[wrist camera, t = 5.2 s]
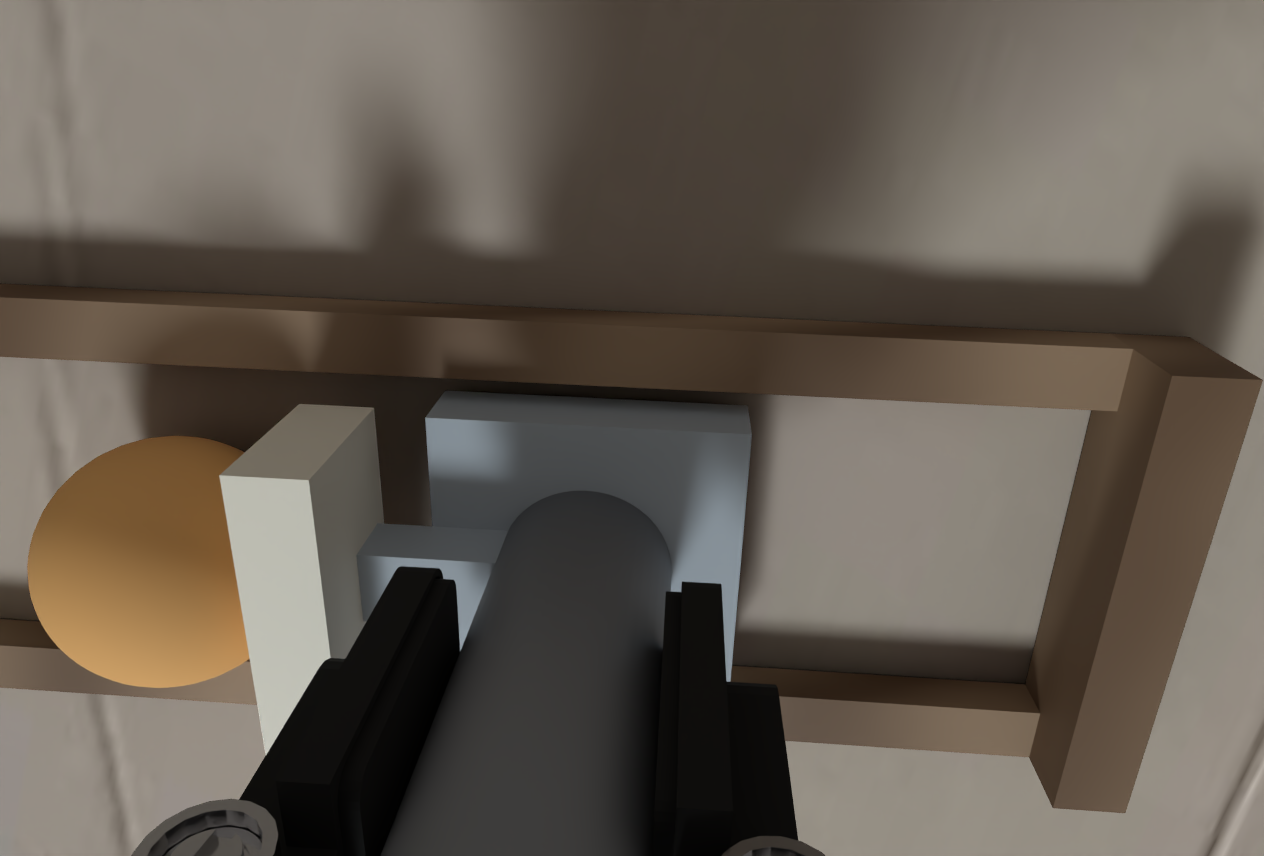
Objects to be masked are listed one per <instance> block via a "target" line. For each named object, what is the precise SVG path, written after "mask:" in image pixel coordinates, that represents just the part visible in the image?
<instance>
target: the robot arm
mask: <svg viewBox="0 0 1264 856" xmlns="http://www.w3.org/2000/svg"><path fill="white" fill-rule="evenodd" d="M459 654H460V639H459V623H458V606H457V590H456V583H455V581H454V580H452V579H443V574H442V571H441V570H440V569H439V568H424V567H406V566H400V567H398V568H397V570H396V571H395V573H394V574H393V576H392V578H391V580H390V581H389V583H388V585H387V587H386V588H385V590H384V592H383V594H382V595H381V597H380V599H379V601H378V602H377V604H376V606H375V608H374V609H373V611H372V613H371V615H370V616H369V618H368V620H367V622H366V623H365V625H364V627H363V629H362V630H361V632H360V634H359V636H358V637H357V639H356V641H355V643H354V644H353V646H352V648H351V650H350V651H349V653H348V655H347V657H346V658H345V659H340V658H329V659H327V660H325V661H324V662H323V663H322V665H321V666H320V667H319V669H318V670H317V672H316V674H315V675H314V677H313V678H312V680H311V682H310V683H309V685H308V687H307V688H306V690H305V692H304V693H303V695H302V697H301V698H300V700H299V702H298V703H297V705H296V707H295V708H294V710H293V712H292V713H291V715H290V716H289V718H288V720H287V721H286V723H285V725H284V726H283V728H282V730H281V731H280V733H279V735H278V736H277V738H276V740H275V741H274V743H273V745H272V746H271V748H270V750H269V751H268V753H267V755H266V756H265V758H264V759H263V761H262V763H261V764H260V766H259V768H258V769H257V771H256V773H255V774H254V776H253V778H252V779H251V781H250V783H249V784H248V786H247V788H246V789H245V791H244V793H243V794H242V796H241V797H240V799H239V800H236V799H225V800H216V801H209V802H206V803H202V804H199V805H196V806H193V807H190V808H187V809H185V810H183V811H181V812H179V813H178V814H176V815H174V816H172V817H170V818H168V819H166V820H165V821H164V822H162V823H161V824H160V825H159V826H157V827H156V828H155V829H154V830H153V831H151V832H150V833H149V834H148V835H147V836H146V837H145V838H144V839H143V841H142V842H141V843H140V844H139V846H138V847H137V848H136V850H135V851H134V852H133V854H132V855H131V856H380V855H381V853H382V850H383V848H384V845H385V843H386V840H387V838H388V835H389V832H390V830H391V827H392V825H393V822H394V820H395V817H396V815H397V812H398V809H399V807H400V804H401V802H402V799H403V797H404V794H405V792H406V789H407V786H408V784H409V781H410V779H411V776H412V774H413V771H414V769H415V766H416V763H417V761H418V758H419V756H420V753H421V751H422V748H423V746H424V743H425V741H426V738H427V735H428V733H429V730H430V728H431V725H432V723H433V720H434V718H435V715H436V712H437V710H438V707H439V705H440V702H441V700H442V697H443V695H444V692H445V689H446V687H447V684H448V682H449V679H450V677H451V674H452V672H453V669H454V666H455V664H456V661H457V659H458V656H459ZM652 856H825V855H824V854H823V853H822V852H821V851H819V850H817V849H815V848H813V847H811V846H809V845H807V844H805V843H804V842H801V841H798V836H797V828H796V820H795V813H794V805H793V797H792V790H791V782H790V775H789V767H788V759H787V752H786V744H785V736H784V729H783V721H782V714H781V706H780V698H779V692H778V687H777V686H776V685H775V684H759V683H742V682H727V681H726V662H725V642H724V622H723V602H722V585H721V584H718V583H700V582H682V586H681V592H671V591H666V597H665V616H664V635H663V654H662V673H661V691H660V710H659V729H658V748H657V767H656V786H655V806H654V827H653V849H652Z"/></svg>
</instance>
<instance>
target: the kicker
mask: <svg viewBox="0 0 1264 856" xmlns="http://www.w3.org/2000/svg"><path fill="white" fill-rule="evenodd" d="M425 422H426V437H427V453H428V468H429V483H430V498H431V514H432V526H417V525H399V524H384V514H383V503H382V492H381V480H380V469H379V458H378V447H377V436H376V424H375V413H374V408H371V407H351V406H331V405H312V404H299V405H297V406H296V407H295V408H294V409H293V410H292V411H291V412H290V413H288V414H287V415H286V416H285V417H284V418H283V419H282V420H281V421H280V422H278V423H277V424H276V425H275V426H274V427H273V428H272V429H271V430H269V431H268V432H267V433H266V434H265V435H264V436H263V437H262V438H260V439H259V440H258V441H257V442H256V443H255V444H254V445H253V446H252V447H250V448H249V449H248V450H247V451H246V452H245V453H244V454H243V455H241V456H240V457H239V458H238V459H237V460H236V461H235V462H234V463H232V464H231V465H230V466H229V467H228V468H227V469H226V470H225V471H224V472H222V473H221V474H220V475H219V477H220V483H221V489H222V495H223V501H224V507H225V513H226V519H227V525H228V531H229V537H230V543H231V549H232V555H233V561H234V567H235V573H236V580H237V586H238V592H239V598H240V604H241V610H242V616H243V622H244V628H245V634H246V640H247V646H248V652H249V658H250V664H251V670H252V676H253V682H254V688H255V694H256V700H257V706H258V712H259V718H260V724H261V730H262V736H263V742H264V748H265V754H266V755H267V753H268V751H269V750H270V748H271V746H272V745H273V743H274V741H275V740H276V738H277V736H278V735H279V733H280V731H281V730H282V728H283V726H284V725H285V723H286V721H287V720H288V718H289V716H290V715H291V713H292V712H293V710H294V708H295V707H296V705H297V703H298V702H299V700H300V698H301V697H302V695H303V693H304V692H305V690H306V688H307V687H308V685H309V683H310V682H311V680H312V678H313V677H314V675H315V674H316V672H317V670H318V669H319V667H320V666H321V665H322V663H323V662H324V661H325V660H327V659H329V658H340V659H345V658H346V657H347V655H348V653H349V651H350V650H351V648H352V646H353V644H354V643H355V641H356V639H357V637H358V636H359V634H360V632H361V630H362V629H363V627H364V625H365V623H366V622H367V620H368V618H369V616H370V615H371V613H372V611H373V609H374V608H375V606H376V604H377V602H378V601H379V599H380V597H381V595H382V594H383V592H384V590H385V588H386V587H387V585H388V583H389V581H390V580H391V578H392V576H393V574H394V573H395V571H396V570H397V568H398V567H400V566H406V567H424V568H439V569H440V570H441V571H442V574H443V579H452V580H454V581H455V583H456V590H457V606H458V623H459V639H460V654H459V656H458V659H457V661H456V664H455V666H454V669H453V672H452V674H451V677H450V679H449V682H448V684H447V687H446V689H445V692H444V695H443V697H442V700H441V702H440V705H439V707H438V710H437V712H436V715H435V718H434V720H433V723H432V725H431V728H430V730H429V733H428V735H427V738H426V741H425V743H424V746H423V748H422V751H421V753H420V756H419V758H418V761H417V763H416V766H415V769H414V771H413V774H412V776H411V779H410V781H409V784H408V786H407V789H406V792H405V794H404V797H403V799H402V802H401V804H400V807H399V809H398V812H397V815H396V817H395V820H394V822H393V825H392V827H391V830H390V832H389V835H388V838H387V840H386V843H385V845H384V848H383V850H382V853H381V855H380V856H652V849H653V827H654V806H655V786H656V767H657V748H658V729H659V710H660V691H661V673H662V654H663V635H664V616H665V597H666V591H671V592H681V586H682V582H700V583H718V584H721V585H722V602H723V622H724V642H725V662H726V681H727V682H730V681H731V669H732V658H733V646H734V635H735V623H736V612H737V600H738V589H739V577H740V566H741V554H742V543H743V531H744V520H745V508H746V496H747V485H748V473H749V462H750V450H751V439H752V432H751V425H750V418H749V411H748V406H745V405H725V404H705V403H685V402H664V401H644V400H624V399H604V398H584V397H564V396H544V395H524V394H504V393H483V392H463V391H445V392H444V393H443V394H442V396H441V397H440V398H439V400H438V401H437V402H436V404H435V405H434V406H433V408H432V409H431V411H430V412H429V413H428V415H427V416H426V417H425Z"/></svg>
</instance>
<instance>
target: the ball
mask: <svg viewBox="0 0 1264 856" xmlns="http://www.w3.org/2000/svg"><path fill="white" fill-rule="evenodd" d="M244 453H245V452H243V451H241V450H239V449H237V448H234V447H232V446H229V445H227V444H224V443H221V442H218V441H214V440H210V439H206V438H199V437H191V436H165V437H156V438H147V439H143V440H139V441H136V442H132V443H129V444H125V445H122V446H120V447H117V448H115V449H113V450H111V451H109V452H107V453H104V454H102V455H100V456H98V457H97V458H95V459H94V460H92V461H91V462H89V463H88V464H86V465H85V466H84V467H82V468H81V469H79V470H78V471H77V472H75V473H74V474H73V475H72V476H71V477H70V478H69V479H68V480H67V481H66V482H65V483H64V484H63V485H62V486H61V487H60V488H59V489H58V490H57V492H56V493H55V495H54V496H53V497H52V499H51V500H50V502H49V503H48V505H47V506H46V508H45V509H44V511H43V513H42V515H41V517H40V519H39V521H38V524H37V526H36V528H35V531H34V533H33V537H32V541H31V544H30V550H29V556H28V566H27V568H28V583H29V591H30V596H31V600H32V603H33V606H34V609H35V611H36V613H37V616H38V618H39V620H40V622H41V624H42V626H43V627H44V629H45V631H46V632H47V634H48V635H49V637H50V638H51V639H52V641H53V642H54V643H55V644H56V645H57V646H58V647H59V648H60V649H61V650H62V651H63V652H64V653H65V654H66V655H67V656H68V657H69V658H71V659H72V660H73V661H75V662H76V663H77V664H79V665H80V666H82V667H84V668H85V669H87V670H89V671H91V672H93V673H95V674H97V675H99V676H102V677H104V678H107V679H109V680H112V681H115V682H119V683H122V684H126V685H131V686H138V687H151V688H169V687H178V686H185V685H191V684H195V683H199V682H202V681H205V680H208V679H211V678H215V677H218V676H220V675H222V674H224V673H226V672H228V671H230V670H232V669H234V668H236V667H238V666H240V665H241V664H243V663H244V662H245V661H247V660H248V659H250V658H249V652H248V646H247V640H246V634H245V628H244V622H243V616H242V610H241V604H240V598H239V592H238V586H237V580H236V573H235V567H234V561H233V555H232V549H231V543H230V537H229V531H228V525H227V519H226V513H225V507H224V501H223V495H222V489H221V483H220V477H219V475H220V474H221V473H222V472H224V471H225V470H226V469H227V468H228V467H229V466H230V465H231V464H232V463H234V462H235V461H236V460H237V459H238V458H239V457H240V456H241V455H243V454H244Z"/></svg>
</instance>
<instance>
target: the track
mask: <svg viewBox="0 0 1264 856" xmlns="http://www.w3.org/2000/svg"><path fill="white" fill-rule="evenodd" d="M0 357H19V358H39V359H60V360H80V361H101V362H121V363H141V364H162V365H182V366H202V367H223V368H243V369H264V370H284V371H304V372H325V373H345V374H366V375H386V376H406V377H427V378H447V379H467V380H488V381H508V382H529V383H549V384H569V385H590V386H610V387H630V388H651V389H671V390H692V391H712V392H732V393H753V394H773V395H794V396H814V397H834V398H855V399H875V400H895V401H916V402H936V403H957V404H977V405H997V406H1018V407H1038V408H1059V409H1079V410H1092V412H1091V416H1090V420H1089V424H1088V428H1087V432H1086V436H1085V440H1084V445H1083V449H1082V453H1081V457H1080V461H1079V465H1078V469H1077V473H1076V477H1075V482H1074V486H1073V490H1072V494H1071V498H1070V502H1069V506H1068V510H1067V515H1066V519H1065V523H1064V527H1063V531H1062V535H1061V539H1060V543H1059V547H1058V552H1057V556H1056V560H1055V564H1054V568H1053V572H1052V576H1051V580H1050V584H1049V589H1048V593H1047V597H1046V601H1045V605H1044V609H1043V613H1042V617H1041V621H1040V626H1039V630H1038V634H1037V638H1036V642H1035V646H1034V650H1033V654H1032V659H1031V663H1030V667H1029V671H1028V675H1027V679H1026V683H1025V684H1011V683H995V682H980V681H964V680H948V679H933V678H917V677H901V676H886V675H870V674H854V673H839V672H823V671H807V670H792V669H776V668H760V667H745V666H732V669H731V681H730V682H742V683H759V684H775V685H776V686H777V687H778V692H779V698H780V706H781V714H782V721H783V729H784V736H785V741H797V742H812V743H827V744H842V745H856V746H871V747H886V748H901V749H915V750H930V751H945V752H960V753H974V754H989V755H1004V756H1019V757H1029V758H1030V760H1031V762H1032V764H1033V767H1034V769H1035V771H1036V773H1037V775H1038V777H1039V779H1040V781H1041V783H1042V786H1043V788H1044V790H1045V792H1046V794H1047V796H1048V798H1049V800H1050V803H1051V805H1052V807H1053V808H1060V809H1074V810H1088V811H1102V812H1117V813H1125V812H1126V809H1127V806H1128V803H1129V800H1130V797H1131V793H1132V790H1133V787H1134V784H1135V781H1136V778H1137V774H1138V771H1139V768H1140V765H1141V762H1142V759H1143V756H1144V752H1145V749H1146V746H1147V743H1148V740H1149V737H1150V734H1151V730H1152V727H1153V724H1154V721H1155V718H1156V715H1157V712H1158V708H1159V705H1160V702H1161V699H1162V696H1163V693H1164V690H1165V686H1166V683H1167V680H1168V677H1169V674H1170V671H1171V667H1172V664H1173V661H1174V658H1175V655H1176V652H1177V649H1178V645H1179V642H1180V639H1181V636H1182V633H1183V630H1184V627H1185V623H1186V620H1187V617H1188V614H1189V611H1190V608H1191V605H1192V601H1193V598H1194V595H1195V592H1196V589H1197V586H1198V583H1199V579H1200V576H1201V573H1202V570H1203V567H1204V564H1205V560H1206V557H1207V554H1208V551H1209V548H1210V545H1211V542H1212V538H1213V535H1214V532H1215V529H1216V526H1217V523H1218V520H1219V516H1220V513H1221V510H1222V507H1223V504H1224V501H1225V498H1226V494H1227V491H1228V488H1229V485H1230V482H1231V479H1232V476H1233V472H1234V469H1235V466H1236V463H1237V460H1238V457H1239V453H1240V450H1241V447H1242V444H1243V441H1244V438H1245V435H1246V431H1247V428H1248V425H1249V422H1250V419H1251V416H1252V413H1253V409H1254V406H1255V403H1256V400H1257V397H1258V394H1259V391H1260V387H1261V384H1262V381H1263V380H1262V379H1260V378H1258V377H1257V376H1255V375H1253V374H1251V373H1250V372H1248V371H1246V370H1245V369H1243V368H1241V367H1239V366H1238V365H1236V364H1234V363H1233V362H1231V361H1229V360H1227V359H1226V358H1224V357H1222V356H1221V355H1219V354H1217V353H1215V352H1214V351H1212V350H1210V349H1209V348H1207V347H1205V346H1203V345H1202V344H1200V343H1198V342H1197V341H1195V340H1193V339H1191V338H1190V337H1176V336H1154V335H1131V334H1109V333H1087V332H1065V331H1042V330H1020V329H998V328H976V327H953V326H931V325H909V324H887V323H864V322H842V321H820V320H798V319H775V318H753V317H731V316H709V315H686V314H664V313H642V312H620V311H597V310H575V309H553V308H531V307H508V306H486V305H464V304H442V303H419V302H397V301H375V300H353V299H330V298H308V297H286V296H264V295H241V294H219V293H197V292H175V291H152V290H130V289H108V288H86V287H63V286H41V285H19V284H0ZM0 687H1V688H16V689H30V690H45V691H60V692H75V693H89V694H104V695H119V696H134V697H148V698H163V699H178V700H193V701H207V702H222V703H237V704H252V705H257V700H256V694H255V688H254V682H253V676H252V670H251V664H250V659H248V660H247V661H245V662H244V663H243V664H241V665H240V666H238V667H236V668H234V669H232V670H230V671H228V672H226V673H224V674H222V675H220V676H218V677H215V678H211V679H208V680H205V681H202V682H199V683H195V684H191V685H185V686H178V687H169V688H151V687H138V686H131V685H126V684H122V683H119V682H115V681H112V680H109V679H107V678H104V677H102V676H99V675H97V674H95V673H93V672H91V671H89V670H87V669H85V668H84V667H82V666H80V665H79V664H77V663H76V662H75V661H73V660H72V659H71V658H69V657H68V656H67V655H66V654H65V653H64V652H63V651H62V650H61V649H60V648H59V647H58V646H57V645H56V644H55V643H54V642H53V641H52V639H51V638H50V637H49V635H48V634H47V632H46V631H45V629H44V627H43V626H42V624H41V622H40V621H25V620H9V619H0Z"/></svg>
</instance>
